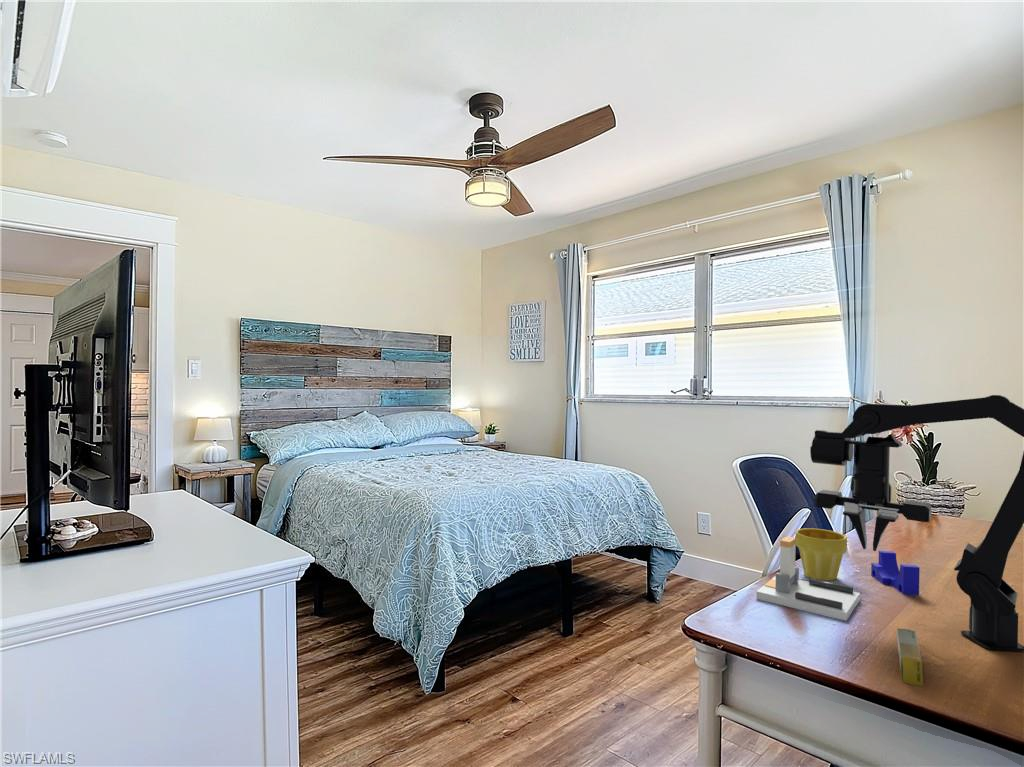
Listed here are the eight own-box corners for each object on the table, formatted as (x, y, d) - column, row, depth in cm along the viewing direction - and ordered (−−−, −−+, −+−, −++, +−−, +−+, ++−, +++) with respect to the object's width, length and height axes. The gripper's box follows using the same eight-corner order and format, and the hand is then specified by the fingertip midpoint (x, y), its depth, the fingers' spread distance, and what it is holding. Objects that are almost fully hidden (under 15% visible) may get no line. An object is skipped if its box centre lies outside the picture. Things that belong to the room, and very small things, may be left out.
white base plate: (859, 600, 117) (860, 575, 117) (846, 620, 106) (846, 593, 106) (776, 581, 127) (776, 559, 127) (756, 598, 117) (756, 574, 117)
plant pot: (819, 585, 125) (820, 540, 125) (784, 570, 135) (785, 529, 135) (857, 582, 128) (858, 538, 128) (820, 567, 138) (821, 527, 138)
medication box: (896, 651, 95) (896, 627, 95) (916, 655, 93) (916, 630, 93) (901, 683, 84) (900, 655, 84) (923, 688, 83) (923, 660, 83)
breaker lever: (795, 582, 121) (796, 537, 121) (788, 588, 117) (789, 542, 117) (785, 580, 122) (786, 536, 122) (778, 586, 118) (779, 540, 118)
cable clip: (871, 576, 133) (871, 550, 133) (892, 577, 132) (893, 551, 133) (895, 594, 122) (895, 565, 122) (918, 596, 121) (919, 567, 121)
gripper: (935, 470, 111) (933, 551, 111) (827, 460, 123) (825, 533, 123) (929, 476, 103) (927, 563, 102) (814, 465, 115) (812, 543, 115)
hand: (869, 549), depth 111 cm, fingers closed
